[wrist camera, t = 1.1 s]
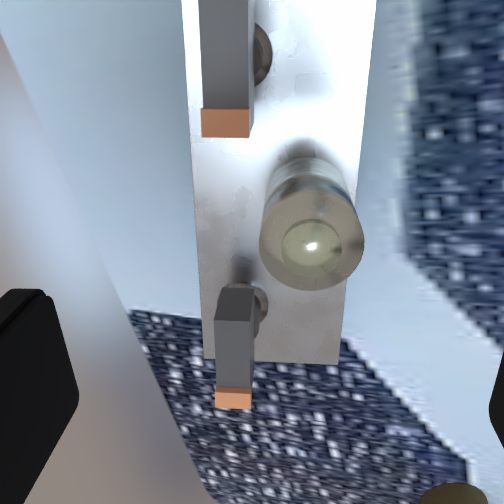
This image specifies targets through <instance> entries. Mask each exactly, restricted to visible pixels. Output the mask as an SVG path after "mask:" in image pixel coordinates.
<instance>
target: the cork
mask: <svg viewBox="0 0 504 504" xmlns="http://www.w3.org/2000/svg"><path fill="white" fill-rule="evenodd" d="M419 504H488V502H487V498H486V496H485V495H484V493H483V492H482V491H481V490H479V489H478V488H476V487H474V486H471V485H468V484H464V483H448V484H442V485H439V486H436V487H434V488H432V489H430V490H429V491H427V492H426V493H425V494H424V495H423V496H422V497H421V499H420V502H419Z"/></svg>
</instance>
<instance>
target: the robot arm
mask: <svg viewBox="0 0 504 504" xmlns="http://www.w3.org/2000/svg"><path fill="white" fill-rule="evenodd" d="M78 402H79V390H78V387H77V383H76V380H75V376H74V373H73V369H72V365H71V362H70V358H69V355H68V351H67V348H66V344H65V341H64V337H63V333H62V330H61V327H60V323H59V319H58V316H57V312H56V309H55V305H54V302H53V300H52V298H51V297H50V296H46V294H45V293H44V292H43V290H40V289H11V290H9V291H8V292H7V293H5V294H4V295H3V296H2V297H1V298H0V504H23V503H24V502H25V499H26V498H27V496H28V495H29V492H30V491H31V489H32V487H33V486H34V484H35V482H36V480H37V478H38V477H39V475H40V473H41V471H42V469H43V468H44V466H45V464H46V462H47V460H48V459H49V457H50V455H51V453H52V451H53V450H54V448H55V446H56V444H57V442H58V440H59V439H60V437H61V435H62V434H63V432H64V430H65V428H66V426H67V425H68V423H69V421H70V419H71V418H72V416H73V414H74V412H75V410H76V408H77V406H78ZM489 417H490V421H491V423H492V426H493V428H494V430H495V432H496V434H497V436H498V438H499V440H500V442H501V444H502V446H503V448H504V352H503V356H502V360H501V363H500V367H499V370H498V374H497V378H496V381H495V385H494V389H493V392H492V396H491V399H490V403H489Z"/></svg>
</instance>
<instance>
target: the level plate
mask: <svg viewBox="0 0 504 504" xmlns="http://www.w3.org/2000/svg"><path fill="white" fill-rule="evenodd" d="M375 7H376V0H254V35H255V36H256V37H257V38H258V40H259V41H260V43H261V46H262V49H263V62H262V65H261V68H260V70H259V71H258V73H257V74H256V75H255V76H254V124H253V127H252V129H251V135H250V137H249V138H202V136H201V116H200V109H201V108H202V107H203V95H202V75H201V54H200V34H199V14H198V0H182V14H183V30H184V45H185V61H186V77H187V93H188V109H189V125H190V141H191V157H192V172H193V188H194V204H195V220H196V236H197V252H198V268H199V284H200V300H201V315H202V331H203V347H204V358H206V359H215V340H214V316H215V312H216V309H217V305H218V301H219V297H220V293H221V290H222V287H229V288H254V295H255V296H257V298H258V299H259V300H260V303H261V315H260V324H259V332H258V335H257V336H256V338H255V339H254V361H269V362H290V363H311V364H332V365H338V358H339V349H340V339H341V330H342V320H343V311H344V301H345V292H346V282H347V277H349V276H350V275H351V274H352V273H353V271H354V270H355V269H356V267H357V266H358V264H359V262H360V260H361V258H362V255H363V251H364V234H363V230H362V227H361V224H360V221H359V219H358V216H357V213H356V211H355V208H354V207H355V197H356V188H357V178H358V169H359V159H360V150H361V140H362V131H363V121H364V112H365V102H366V93H367V83H368V74H369V64H370V55H371V45H372V36H373V26H374V17H375Z"/></svg>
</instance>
